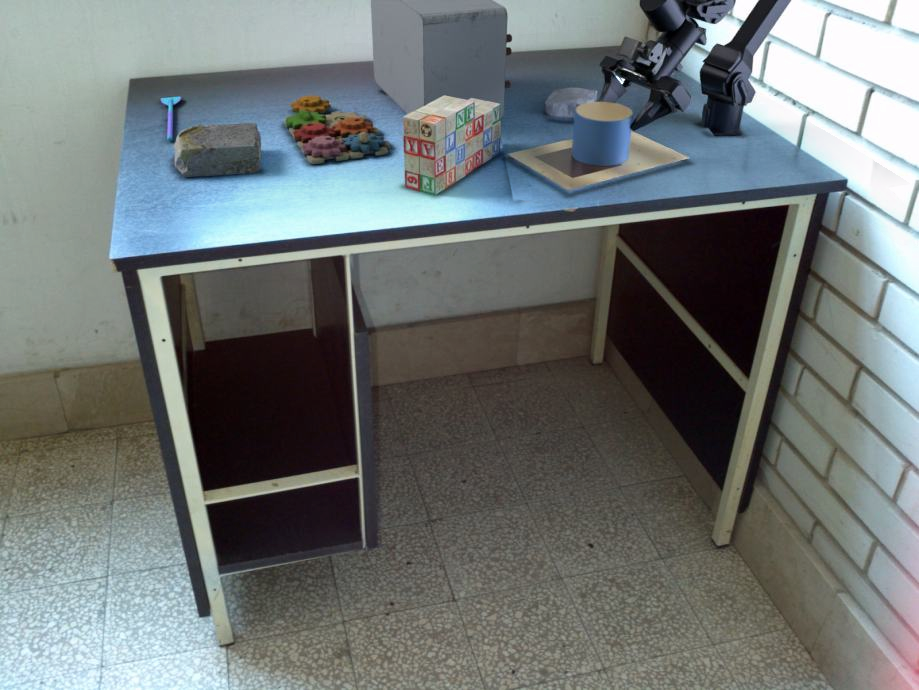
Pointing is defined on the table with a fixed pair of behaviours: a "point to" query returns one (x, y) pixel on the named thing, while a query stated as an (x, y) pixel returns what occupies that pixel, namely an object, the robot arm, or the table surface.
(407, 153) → the stack of blocks
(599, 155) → the blue cylinder
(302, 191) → the table surface
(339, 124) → the gear puzzle
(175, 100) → the blue scraper
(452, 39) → the vintage electronic device
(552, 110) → the stone block
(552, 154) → the birch board
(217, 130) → the geological specimen
